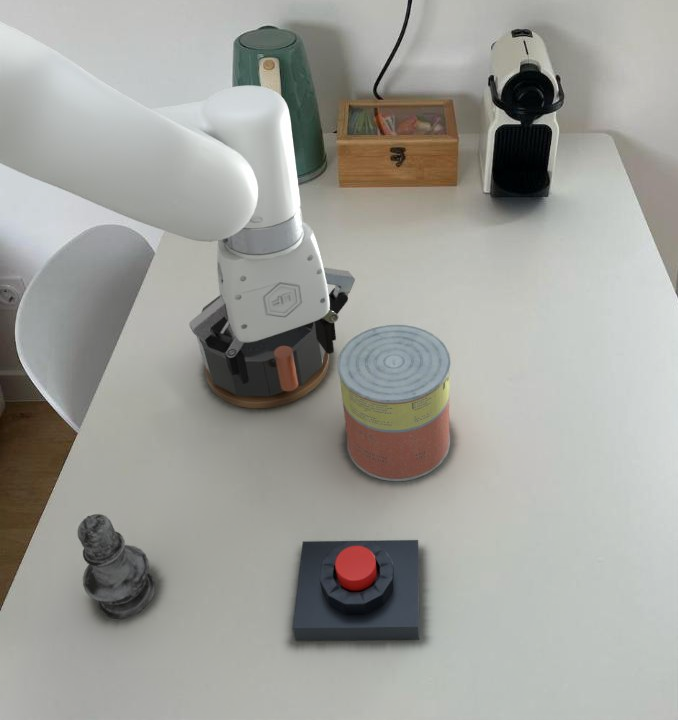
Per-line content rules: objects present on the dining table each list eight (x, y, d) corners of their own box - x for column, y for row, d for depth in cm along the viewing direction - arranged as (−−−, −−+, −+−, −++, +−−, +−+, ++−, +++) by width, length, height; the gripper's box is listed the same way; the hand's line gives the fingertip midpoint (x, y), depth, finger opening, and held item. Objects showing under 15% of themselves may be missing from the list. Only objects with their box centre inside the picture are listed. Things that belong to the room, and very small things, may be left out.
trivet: (229, 426, 91) (228, 420, 91) (190, 349, 101) (188, 343, 101) (349, 379, 96) (349, 373, 96) (301, 310, 106) (300, 305, 106)
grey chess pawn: (170, 575, 77) (137, 498, 69) (135, 629, 73) (96, 554, 65) (118, 559, 79) (80, 481, 71) (81, 611, 75) (36, 534, 67)
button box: (295, 641, 72) (289, 617, 69) (305, 554, 79) (300, 530, 76) (419, 639, 72) (418, 616, 69) (418, 553, 78) (417, 528, 76)
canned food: (471, 447, 88) (473, 367, 80) (386, 499, 83) (380, 419, 75) (409, 390, 95) (405, 310, 87) (327, 434, 90) (316, 355, 82)
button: (335, 591, 71) (333, 580, 70) (338, 556, 74) (336, 545, 73) (376, 591, 71) (374, 580, 70) (377, 556, 74) (376, 545, 73)
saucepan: (354, 391, 93) (348, 336, 88) (235, 434, 89) (220, 379, 83) (301, 307, 105) (293, 253, 99) (193, 342, 101) (178, 288, 95)
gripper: (183, 271, 70) (217, 410, 81) (363, 218, 76) (371, 354, 87) (159, 230, 75) (195, 366, 86) (330, 183, 81) (342, 316, 92)
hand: (284, 360), depth 87 cm, fingers open, 9 cm apart
